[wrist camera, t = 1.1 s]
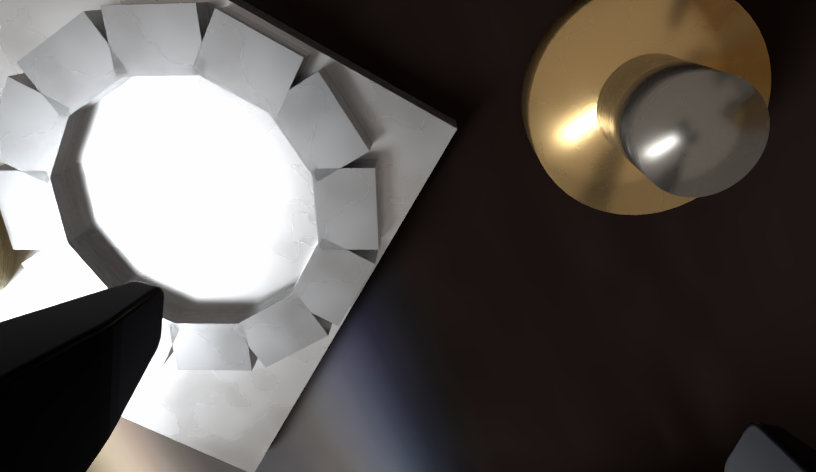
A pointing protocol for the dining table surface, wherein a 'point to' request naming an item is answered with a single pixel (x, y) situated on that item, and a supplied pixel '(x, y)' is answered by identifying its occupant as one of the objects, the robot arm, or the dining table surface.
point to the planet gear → (648, 101)
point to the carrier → (202, 193)
